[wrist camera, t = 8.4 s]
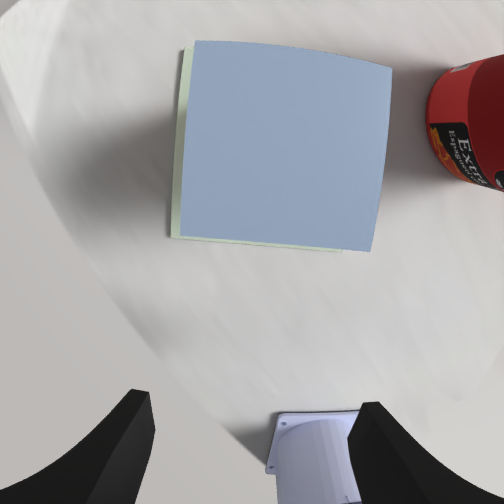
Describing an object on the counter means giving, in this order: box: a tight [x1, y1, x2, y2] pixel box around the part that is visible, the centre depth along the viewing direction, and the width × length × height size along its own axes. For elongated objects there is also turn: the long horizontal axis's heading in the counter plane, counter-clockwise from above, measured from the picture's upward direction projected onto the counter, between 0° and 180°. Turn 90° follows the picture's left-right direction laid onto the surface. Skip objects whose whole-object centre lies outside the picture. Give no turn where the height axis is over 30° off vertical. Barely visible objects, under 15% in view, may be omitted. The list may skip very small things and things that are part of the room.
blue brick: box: [180, 41, 392, 252], centre depth 10 cm, size 5×5×5 cm
